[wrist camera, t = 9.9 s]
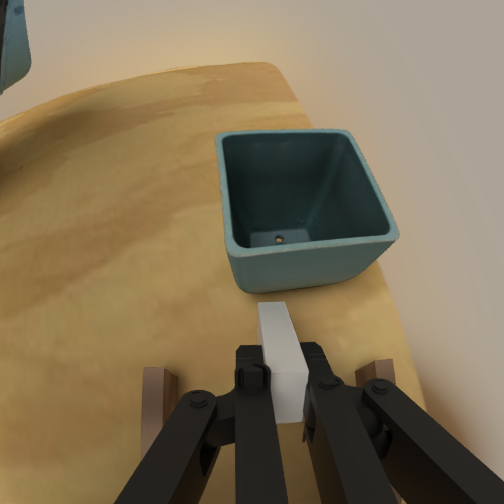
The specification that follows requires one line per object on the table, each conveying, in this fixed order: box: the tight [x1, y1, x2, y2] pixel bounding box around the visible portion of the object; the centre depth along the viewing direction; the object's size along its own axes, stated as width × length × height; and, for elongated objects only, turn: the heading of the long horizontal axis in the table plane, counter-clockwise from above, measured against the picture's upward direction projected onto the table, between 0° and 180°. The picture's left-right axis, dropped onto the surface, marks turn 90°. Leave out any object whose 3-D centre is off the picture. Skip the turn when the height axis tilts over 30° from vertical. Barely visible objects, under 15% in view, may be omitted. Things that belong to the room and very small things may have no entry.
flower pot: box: [215, 129, 400, 294], centre depth 20 cm, size 9×9×9 cm
